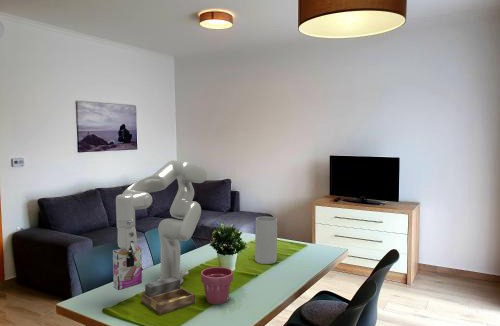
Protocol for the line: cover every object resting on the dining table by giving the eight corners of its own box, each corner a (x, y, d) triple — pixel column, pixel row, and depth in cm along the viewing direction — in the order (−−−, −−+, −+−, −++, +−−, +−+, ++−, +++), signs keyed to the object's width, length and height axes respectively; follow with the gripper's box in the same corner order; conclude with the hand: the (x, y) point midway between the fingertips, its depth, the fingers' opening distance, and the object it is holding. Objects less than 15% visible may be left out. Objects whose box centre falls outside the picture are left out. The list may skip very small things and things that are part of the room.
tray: (175, 292, 182) (175, 275, 181) (195, 303, 170) (195, 285, 169) (141, 302, 170) (141, 284, 170) (159, 315, 158) (159, 296, 158)
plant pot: (203, 292, 181) (203, 265, 181) (233, 293, 181) (234, 266, 180) (198, 306, 167) (198, 277, 166) (231, 307, 167) (231, 278, 166)
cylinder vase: (262, 256, 237) (263, 215, 235) (280, 260, 229) (281, 218, 228) (250, 261, 227) (251, 219, 225) (268, 266, 219) (269, 222, 217)
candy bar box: (118, 291, 164) (117, 253, 162) (113, 287, 167) (111, 250, 165) (142, 283, 171) (141, 246, 170) (137, 280, 175) (136, 244, 173)
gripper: (143, 225, 163) (145, 267, 165) (125, 218, 175) (127, 257, 177) (126, 228, 158) (128, 272, 160) (109, 221, 170) (110, 261, 172)
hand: (127, 264), depth 168 cm, fingers closed on candy bar box, 5 cm apart
